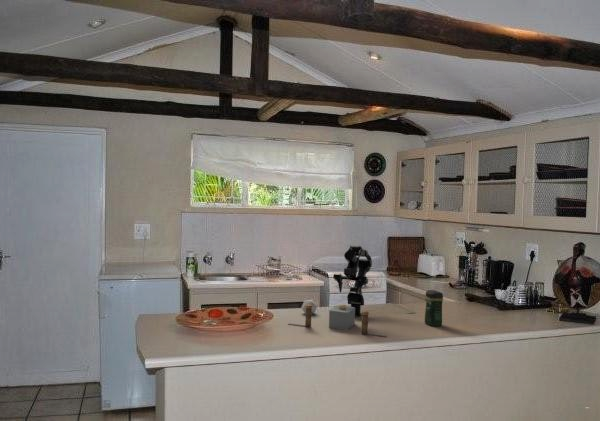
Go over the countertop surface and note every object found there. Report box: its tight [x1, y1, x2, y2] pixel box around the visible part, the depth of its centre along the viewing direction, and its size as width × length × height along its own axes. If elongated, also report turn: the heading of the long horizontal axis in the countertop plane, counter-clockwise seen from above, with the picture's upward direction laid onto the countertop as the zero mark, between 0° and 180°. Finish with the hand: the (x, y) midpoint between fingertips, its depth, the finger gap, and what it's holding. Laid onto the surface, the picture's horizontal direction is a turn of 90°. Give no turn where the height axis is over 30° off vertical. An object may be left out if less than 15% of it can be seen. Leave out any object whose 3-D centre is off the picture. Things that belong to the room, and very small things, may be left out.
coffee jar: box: [424, 289, 444, 327], centre depth 273 cm, size 10×8×19 cm
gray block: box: [328, 304, 356, 331], centre depth 265 cm, size 14×10×11 cm
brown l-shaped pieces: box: [287, 305, 387, 338], centre depth 255 cm, size 3×52×11 cm, turn 68°
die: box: [301, 299, 318, 315], centre depth 290 cm, size 8×9×10 cm
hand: (348, 293), depth 275 cm, fingers open, 9 cm apart
